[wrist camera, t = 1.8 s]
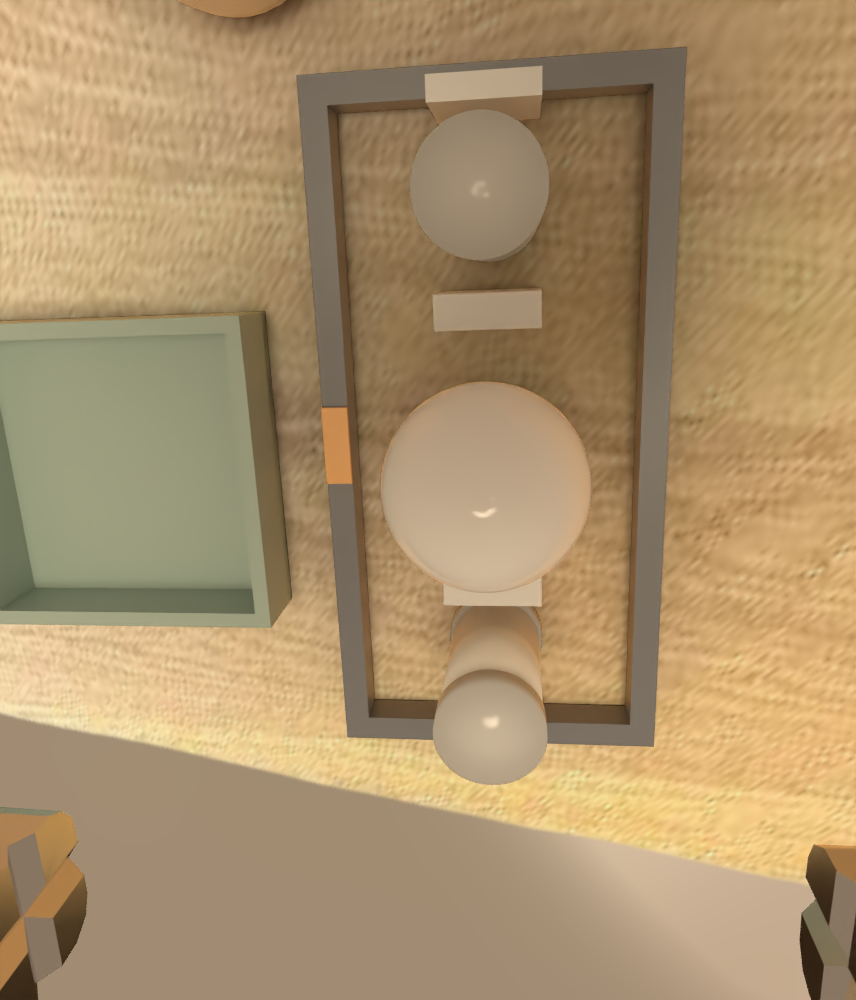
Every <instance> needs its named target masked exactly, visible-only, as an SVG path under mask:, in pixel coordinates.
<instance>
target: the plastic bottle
mask: <svg viewBox="0 0 856 1000" xmlns="http://www.w3.org/2000/svg"><path fill="white" fill-rule="evenodd" d="M177 1H179V2H181V3H184V4H186V5H188V6H191V7H193V8H196V9H198V10H201V11H204V12H207V13H210V14H213V15H218V16H223V17H229V18H240V17H250V16H254V15H258V14H262V13H265V12H267V11H269V10H271V9H273V8H275V7H277V6H279V5H281V4H282V3H283V2H285V1H286V0H177Z"/></svg>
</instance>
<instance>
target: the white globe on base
mask: <svg viewBox="0 0 856 1000" xmlns="http://www.w3.org/2000/svg"><path fill="white" fill-rule="evenodd" d="M549 187H550V178H549V169H548V164H547V160H546V157H545V154H544V152H543V150H542V148H541V146H540V144H539V142H538V141H537V139H536V138H535V136H534V135H533V134H532V133H531V132H530V130H529V129H528V128H527V127H525V126H524V125H523V124H522V123H521V122H519V121H518V120H516V119H515V118H513V117H511V116H509V115H507V114H504V113H501V112H498V111H493V110H470V111H466V112H462V113H459V114H456V115H454V116H452V117H450V118H448V119H447V120H445V121H443V122H442V123H441V124H439V125H438V126H437V127H436V128H434V129H433V131H432V132H431V133H430V134H429V135H428V136H427V137H426V139H425V140H424V141H423V143H422V144H421V146H420V148H419V150H418V152H417V154H416V156H415V159H414V161H413V165H412V169H411V174H410V187H409V191H410V200H411V205H412V209H413V212H414V215H415V217H416V219H417V221H418V223H419V225H420V227H421V229H422V230H423V231H424V233H425V234H426V235H427V237H428V238H429V239H430V240H431V241H432V242H433V243H434V244H436V245H437V246H438V247H439V248H441V249H442V250H444V251H446V252H448V253H450V254H452V255H454V256H457V257H460V258H464V259H470V260H476V261H482V262H496V261H501V260H504V259H507V258H509V257H511V256H513V255H515V254H517V253H518V252H519V251H521V250H522V249H523V248H524V247H525V246H526V245H527V244H528V243H529V242H530V240H531V239H532V237H533V236H534V234H535V232H536V230H537V228H538V226H539V223H540V220H541V218H542V216H543V214H544V211H545V208H546V205H547V201H548V196H549Z"/></svg>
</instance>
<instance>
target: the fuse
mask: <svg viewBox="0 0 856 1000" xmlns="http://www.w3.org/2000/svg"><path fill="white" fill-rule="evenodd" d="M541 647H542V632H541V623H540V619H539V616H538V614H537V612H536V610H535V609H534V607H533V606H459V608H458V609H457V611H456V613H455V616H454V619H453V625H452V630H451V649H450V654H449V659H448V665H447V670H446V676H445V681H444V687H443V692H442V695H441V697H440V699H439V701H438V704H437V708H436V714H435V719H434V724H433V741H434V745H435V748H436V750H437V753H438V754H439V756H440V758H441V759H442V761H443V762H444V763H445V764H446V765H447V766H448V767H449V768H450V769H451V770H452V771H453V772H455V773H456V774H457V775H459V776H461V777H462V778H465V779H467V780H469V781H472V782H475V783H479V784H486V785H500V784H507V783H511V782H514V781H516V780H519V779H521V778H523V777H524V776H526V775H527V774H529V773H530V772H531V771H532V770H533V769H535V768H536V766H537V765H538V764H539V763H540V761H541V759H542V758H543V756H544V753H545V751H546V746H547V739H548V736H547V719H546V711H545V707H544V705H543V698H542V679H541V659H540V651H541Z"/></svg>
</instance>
